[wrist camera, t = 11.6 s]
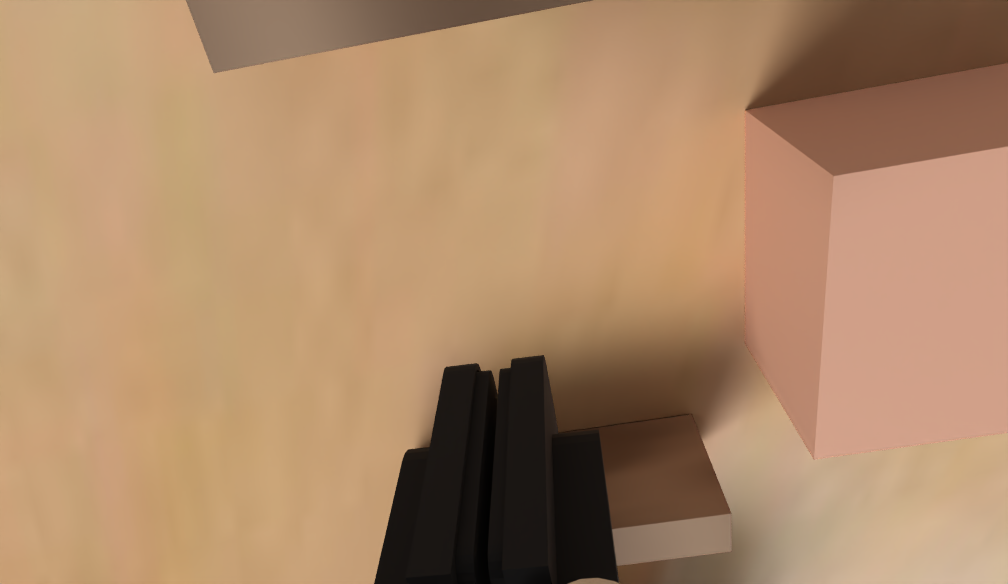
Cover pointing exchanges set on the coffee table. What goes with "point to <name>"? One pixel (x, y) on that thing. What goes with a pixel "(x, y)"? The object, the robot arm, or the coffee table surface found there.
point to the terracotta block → (882, 261)
